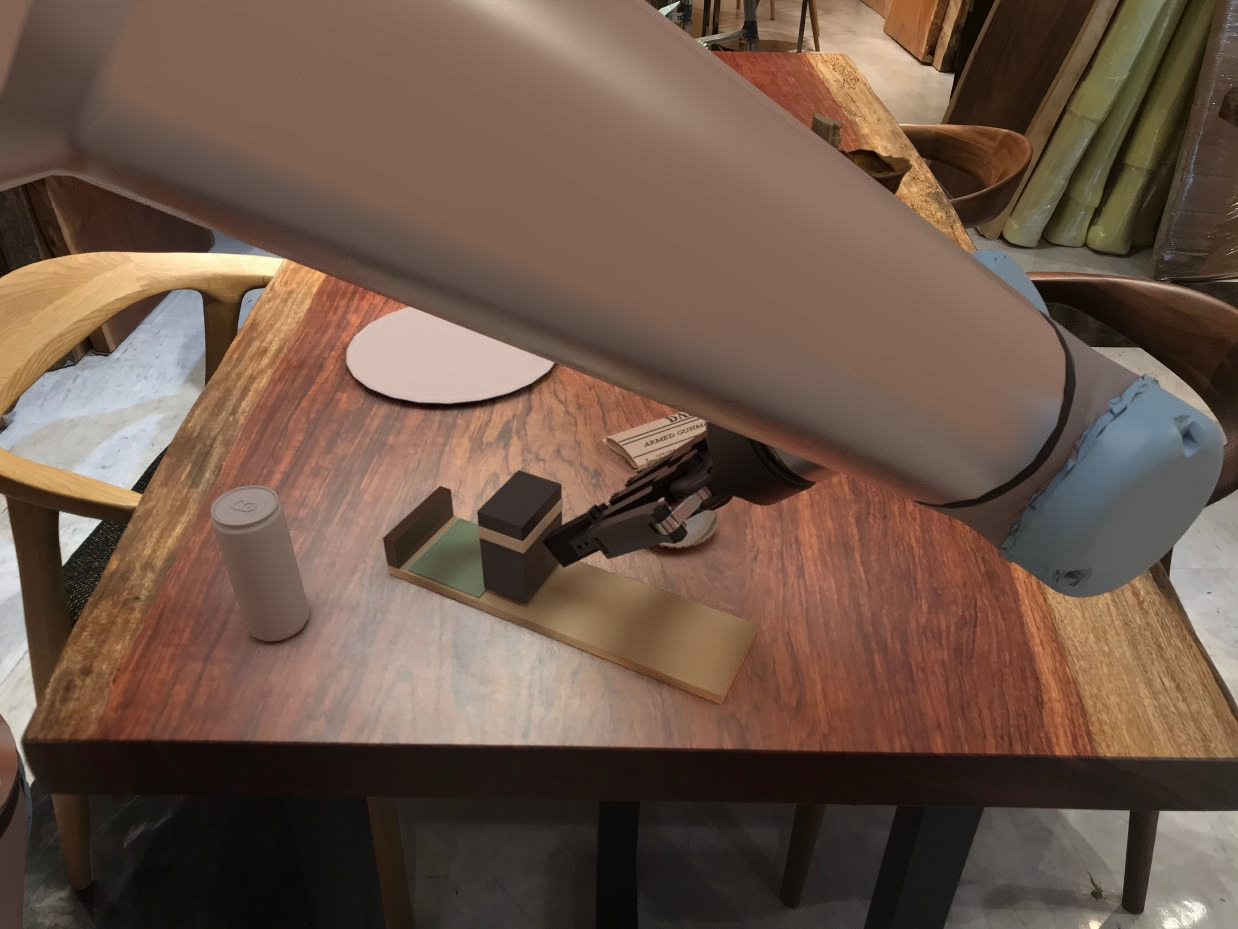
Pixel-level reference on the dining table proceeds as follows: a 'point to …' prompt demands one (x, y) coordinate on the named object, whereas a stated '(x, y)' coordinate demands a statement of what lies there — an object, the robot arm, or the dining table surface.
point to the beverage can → (260, 561)
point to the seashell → (697, 530)
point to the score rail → (578, 605)
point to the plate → (437, 361)
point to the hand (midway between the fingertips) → (557, 549)
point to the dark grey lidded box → (519, 535)
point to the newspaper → (655, 439)
